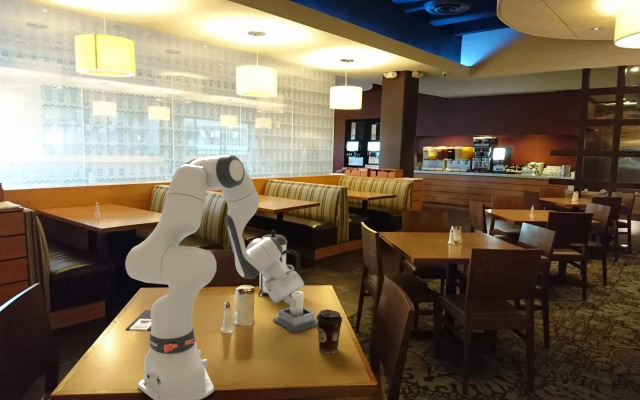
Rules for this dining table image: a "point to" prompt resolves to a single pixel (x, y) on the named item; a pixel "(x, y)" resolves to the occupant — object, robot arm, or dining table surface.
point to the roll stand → (296, 320)
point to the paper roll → (297, 303)
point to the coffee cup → (328, 330)
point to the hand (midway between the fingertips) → (298, 303)
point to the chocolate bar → (141, 322)
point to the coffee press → (283, 243)
